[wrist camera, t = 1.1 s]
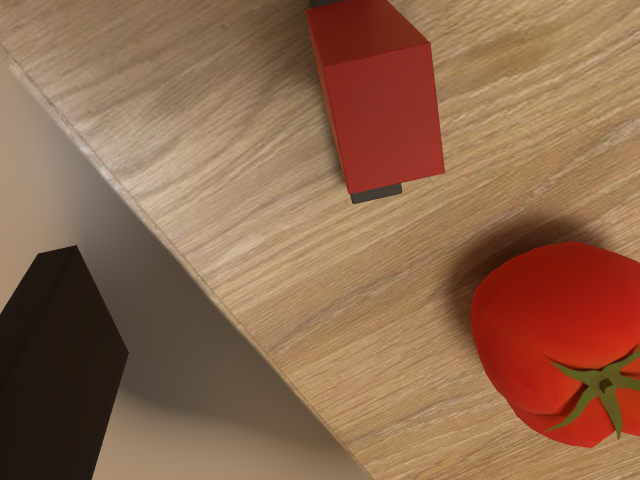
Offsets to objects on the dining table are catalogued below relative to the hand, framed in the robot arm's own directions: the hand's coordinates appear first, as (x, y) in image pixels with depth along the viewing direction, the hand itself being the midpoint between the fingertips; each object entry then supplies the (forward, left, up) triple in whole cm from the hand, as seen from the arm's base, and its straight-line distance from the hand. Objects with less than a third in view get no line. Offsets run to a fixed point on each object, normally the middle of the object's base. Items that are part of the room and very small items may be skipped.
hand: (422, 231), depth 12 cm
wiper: (0, 0, -17) cm, 17 cm away
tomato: (+11, +15, -18) cm, 26 cm away
